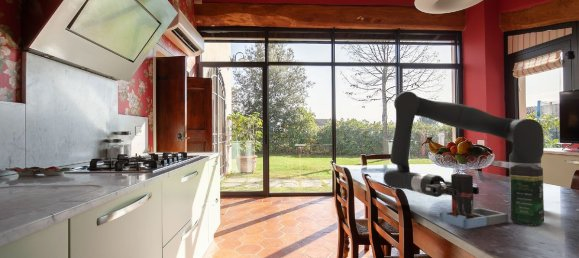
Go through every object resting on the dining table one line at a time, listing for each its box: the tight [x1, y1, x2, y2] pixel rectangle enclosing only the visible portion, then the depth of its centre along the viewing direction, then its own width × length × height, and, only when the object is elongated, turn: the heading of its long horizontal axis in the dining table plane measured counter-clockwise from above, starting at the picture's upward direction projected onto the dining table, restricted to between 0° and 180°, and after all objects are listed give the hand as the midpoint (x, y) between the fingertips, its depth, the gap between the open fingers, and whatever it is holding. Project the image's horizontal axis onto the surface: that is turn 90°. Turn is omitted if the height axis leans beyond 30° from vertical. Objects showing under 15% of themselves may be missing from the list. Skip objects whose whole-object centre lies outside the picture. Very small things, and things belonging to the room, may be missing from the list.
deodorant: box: [450, 173, 475, 219], centre depth 94 cm, size 6×6×15 cm
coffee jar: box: [509, 163, 545, 227], centre depth 94 cm, size 10×8×19 cm
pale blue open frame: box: [439, 206, 509, 230], centre depth 96 cm, size 18×10×3 cm, turn 110°
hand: (468, 192), depth 93 cm, fingers open, 8 cm apart
